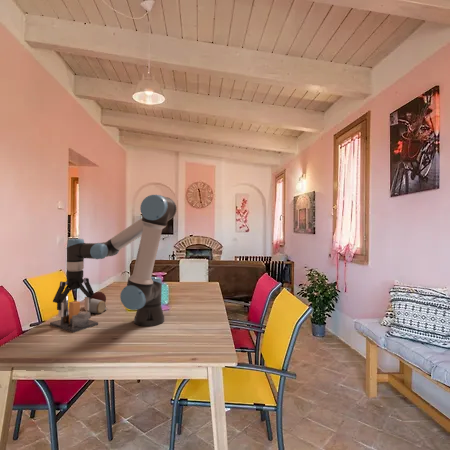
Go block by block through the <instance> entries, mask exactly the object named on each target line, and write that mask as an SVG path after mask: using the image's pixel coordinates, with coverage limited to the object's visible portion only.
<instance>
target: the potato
mask: <svg viewBox="0 0 450 450" xmlns="http://www.w3.org/2000/svg"><path fill="white" fill-rule="evenodd" d="M90 299H97V300H102V301H104V302H105V303H106V301H107V296H106V294H105V293H104V292H102V291H96V292H94V295H92V297H90Z"/></svg>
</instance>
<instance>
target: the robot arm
mask: <svg viewBox="0 0 450 450" xmlns="http://www.w3.org/2000/svg"><path fill="white" fill-rule="evenodd" d="M140 213H141V215H142V217H141V218H139V219H138V220H136V221H134V223H132V224H131V225H130V226H128V227H126V228H125V229H123V230H122V231H120V232H119V233H117V234H115V235H114V236H113V237H111V238H110V239H108V240H107V241H105V242H94V243H93V242H92V243H91V242H89V243H88V242H87V243H86V242H85V240H84V239H83V238H69V239H67V241H66V242H67V243H66V275H65V276H66V278H65V279H66V281H60V282H59V287H58V288H57V291H56V293H55V295H54V297H53V300H52V303H56V310H58V317H60V318H61V317H63V307H64V303H62V302H63V300H64V299H65V297H66V296H67V295H68V296H69V293H70V292H71V291H72V290H78V289H79V290H81V292H82V293H83V294H84V295H85V296H84V307H83V308H84V309H83V311H84V310H85V311H87V310H89V303H90V297H92V295H94V293H95V292H94V290H93V287H92V285H91V284H90V280H89V279H90V278H88V277H84V268H85V267H84V264H85V262H84V261H85V260H84V259H91V260H92V259H93V260H102V259H105V258H107V257H114V256H116V255H117V254H119V252H120V251H121V250H122V249H123V248H125V247H126V246H128V245H129V244H131V243H133V242H134V241H136V240H137V239H139V238H140V241H139V244H138V245H139V246H138V250H137V254H136V258H135V263H134V267H133V271H132V274H131V275H130V276H128V279H127V283H126V286H125V287H123V289H121V292H120V295H119V296H120V297H119V298H120V302H121V303H122V305H123V307H125V309H127V310H130V311H136V312H135V316H134V318H133V319H134V321H133V322H134V324H135V325H137V326H139V327H141V326H142V327H150V326H151V327H153V326H158V325H161V324H163V323H164V322H165V314H164V311H163V307H162V293H163V292H162V291H163V290H162V287H163V286H162V285H163V282H162V278H161V277H158V276H153V270H154V267H155V262H156V257H157V254H158V249H159V245H160V240H161V237H162V232H163V229H165V228H166V227H167V225H168V222H169V221H170V220H172V219H173V218H174V217H175V215H176V213H177V205H176V202H175V201H174V200H173V199H172V198H170V197H167V196H164V195H161V194H150V195H148V196H146V197H144V198H143V200H142V201H141V203H140ZM83 284H84V285H83Z"/></svg>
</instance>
